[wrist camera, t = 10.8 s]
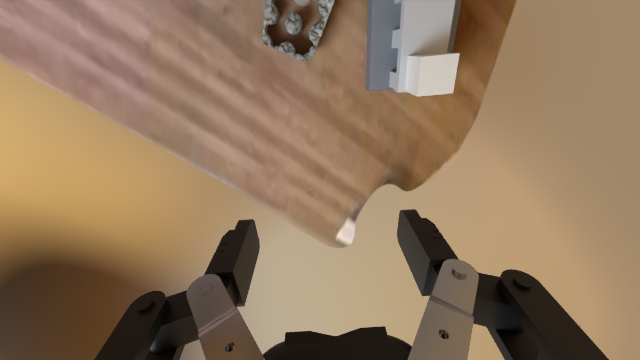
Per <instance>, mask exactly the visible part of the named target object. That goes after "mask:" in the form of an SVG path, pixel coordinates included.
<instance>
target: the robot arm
mask: <svg viewBox="0 0 640 360" xmlns="http://www.w3.org/2000/svg"><path fill="white" fill-rule="evenodd" d="M397 237H398V242H399V245H400V247H401V249H402V251H403V254H404V256H405V258H406V261H407V263H408V265H409V267H410V269H411V272H412V274H413V276H414V279H415V281H416V283H417V285H418V288H419V290H420V292H421V295H422V296H430V298H429V300H428V303H427V306H426V309H425V312H424V315H423V317H422V320H421V323H420V326H419V329H418V332H417V334H416V337H415V340H414V343H413V346H410V345H409V344H408V343H406V342H404V341H402V340H400V339H398V338H395V337H393V336H389V335H387V332H386V329H385V327H369V328H359V329H356V330H353V331H350V332H348V333H345V334H342V335H340V336H331V335H326V334H321V333H317V332H312V331H304V332H286V334H285V341H284V342H281V343H279V344H277V345H275V346H273V347H272V348H271V349H269V350H268V351H267V352H265V353H264V354H263V355H262V353H261V351H260V349H259V348H258V346H257V344H256V342H255V340H254V338H253V336H252V335H251V333H250V331H249V329H248V327H247V325H246V323H245V321H244V320H243V318H242V316H241V314H240V312H239V310H238V309H237V308H236V307H240V306H245V302H246V298H247V295H248V290H249V287H250V283H251V280H252V276H253V272H254V268H255V264H256V261H257V257H258V254H259V238H258V234H257V230H256V226H255V222H254V220H253V219H252V220H251V219H250V220H239V221H238V223H237V226H236V228H235V230H229V231H228V232H227V233H226V234H225V235H224V236H223V237H222V239H221V241H220V243H219V246H218V247H217V250H216V252H215V254H214V256H213V258H212V260H211V262H210V264H209V266H208V268H207V270H206V272H205V274H204V276H201V277H199V278H198V279H196V280H195V281H194V282H193V283H192V284H191V285H190V286H189V288H188V290H186V291H184V292H181V293H178V294H175V295H172V296H169V297H166V296H165V294H164V293H163V292H161V291H152V292H149V293H146V294H144V295H142V296H140V297H139V298H138V299H136V300H135V301H134V302H133V303H132V304H131V305H130V306H129V308H128V309H127V311H126V312H125V314H124V315H123V317H122V318H121V320H120V321H119V323H118V324H117V326H116V327H115V329H114V330H113V332H112V334H111V335H110V337H109V338H108V340H107V341H106V343H105V344H104V346H103V347H102V349H101V350H100V352H99V353H98V355H97V356H96V358H95V360H179V359H180V356H181V353H182V351H183V348H184V346H185V344H188V343H190V342H193V341H195V340H198V339H199V340H200V343H201V346H202V349H203V352H204V355H205V358H206V360H467V356H468V351H469V345H470V339H471V333H472V327H473V323H474V324H478V325H482V326H486V327H487V328H488V330H489V332H490V334H491V336H492V337H493V339H494V341H495V343H496V344H497V346H498V348H499V350H500V352H501V353H502V355H503V357H504V359H505V360H609V359H608V358H607V357H606V356H605V355H604V354H603V353H602V352H601V350H600V349H599V348H598V347H597V346H596V345H595V344H594V343H593V341H592V340H591V339H590V338H589V337H588V336H587V335H586V334H585V333H584V331H583V330H582V329H581V328H580V327H579V326H578V325H577V324H576V323H575V321H574V320H573V319H572V318H571V317H570V316H569V315H568V313H567V312H566V311H565V310H564V309H563V308H562V307H561V306H560V305H559V303H558V302H557V301H556V300H555V299H554V298H553V297H552V296H551V294H550V293H549V292H548V291H547V290H546V289H545V288H544V287H543V286H542V284H541V283H540V282H539V281H538V280H536V279H535V278H534V277H532V276H531V275H529V274H527V273H524V272H522V271H518V270H505V271H503V272H502V274H501V276H500V277H497V276H492V275H487V274H481V273H478V272H477V271H476V270H475V269H474V267H472V266H471V265H470V264H468V263H466V262H464V261H461V260H459V259H458V258H457V256H456V255H455V253H454V252H453V250H452V249H451V247H450V246H449V245H448V243H447V242H446V240H445V239H444V238H443V236H442V235H441V233H440V232H439V230H438V229H437V227H436V226H435V224H434V223H432V222H431V221H429V220H428V219H427V218H421V217H420V216H419V214H418V212H417V211H416V210H414V209H413V210H401V211H400V213H399V221H398V231H397Z"/></svg>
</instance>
